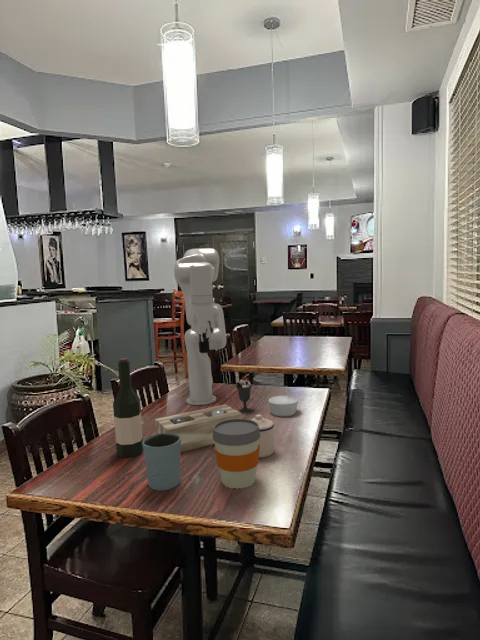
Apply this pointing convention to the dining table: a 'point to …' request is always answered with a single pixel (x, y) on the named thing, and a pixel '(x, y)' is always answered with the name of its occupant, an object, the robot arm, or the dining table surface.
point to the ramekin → (283, 405)
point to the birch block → (196, 426)
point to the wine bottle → (127, 415)
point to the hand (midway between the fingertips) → (204, 352)
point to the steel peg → (217, 412)
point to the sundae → (244, 392)
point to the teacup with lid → (265, 436)
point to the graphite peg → (178, 420)
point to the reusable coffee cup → (237, 451)
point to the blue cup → (162, 460)
